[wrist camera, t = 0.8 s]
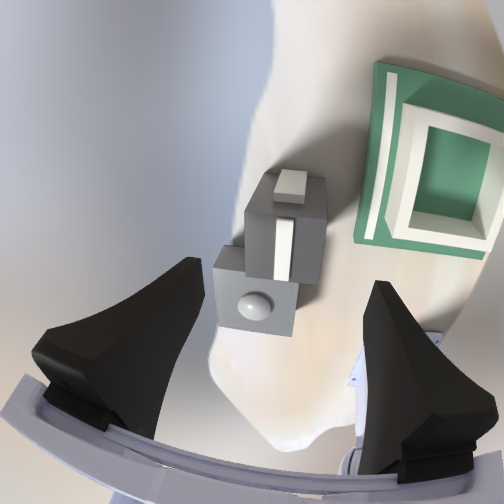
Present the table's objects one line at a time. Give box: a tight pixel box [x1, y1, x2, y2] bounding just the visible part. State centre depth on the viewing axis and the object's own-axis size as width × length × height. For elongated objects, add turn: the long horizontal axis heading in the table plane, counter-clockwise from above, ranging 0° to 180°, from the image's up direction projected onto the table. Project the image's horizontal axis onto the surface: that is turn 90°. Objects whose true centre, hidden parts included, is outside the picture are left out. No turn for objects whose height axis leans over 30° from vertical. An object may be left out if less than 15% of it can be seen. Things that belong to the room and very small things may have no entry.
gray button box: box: [213, 245, 299, 337], centre depth 22 cm, size 8×6×3 cm
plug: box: [244, 169, 328, 285], centre depth 17 cm, size 4×4×6 cm
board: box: [353, 62, 504, 260], centre depth 15 cm, size 12×11×4 cm
